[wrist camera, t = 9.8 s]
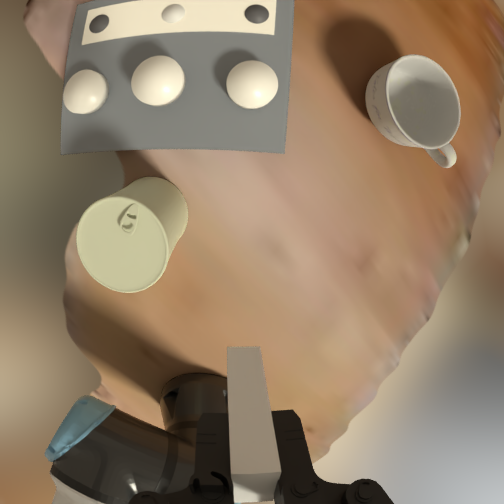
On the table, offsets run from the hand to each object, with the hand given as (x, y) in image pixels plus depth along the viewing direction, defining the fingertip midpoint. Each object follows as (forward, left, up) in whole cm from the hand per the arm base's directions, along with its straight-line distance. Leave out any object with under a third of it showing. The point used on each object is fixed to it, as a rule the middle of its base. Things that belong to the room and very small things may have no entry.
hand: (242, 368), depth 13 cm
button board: (+19, +8, -24) cm, 32 cm away
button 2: (+16, +17, -21) cm, 32 cm away
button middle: (+16, +9, -19) cm, 26 cm away
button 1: (+16, -1, -21) cm, 26 cm away
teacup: (+16, -20, -25) cm, 35 cm away
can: (+1, +10, -25) cm, 27 cm away
